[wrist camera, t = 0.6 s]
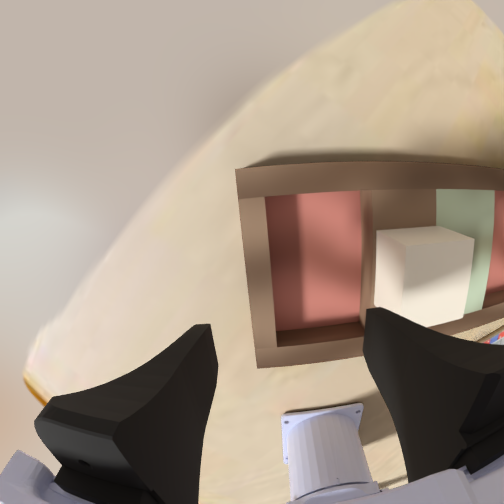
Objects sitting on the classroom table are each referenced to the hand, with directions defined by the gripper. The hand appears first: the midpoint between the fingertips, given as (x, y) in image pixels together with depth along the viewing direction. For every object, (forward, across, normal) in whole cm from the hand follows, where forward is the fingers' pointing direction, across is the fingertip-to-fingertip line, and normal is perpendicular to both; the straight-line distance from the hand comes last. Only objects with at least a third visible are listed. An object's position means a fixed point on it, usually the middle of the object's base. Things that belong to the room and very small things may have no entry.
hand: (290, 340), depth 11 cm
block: (+7, -9, 0) cm, 11 cm away
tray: (+9, -12, 0) cm, 15 cm away
